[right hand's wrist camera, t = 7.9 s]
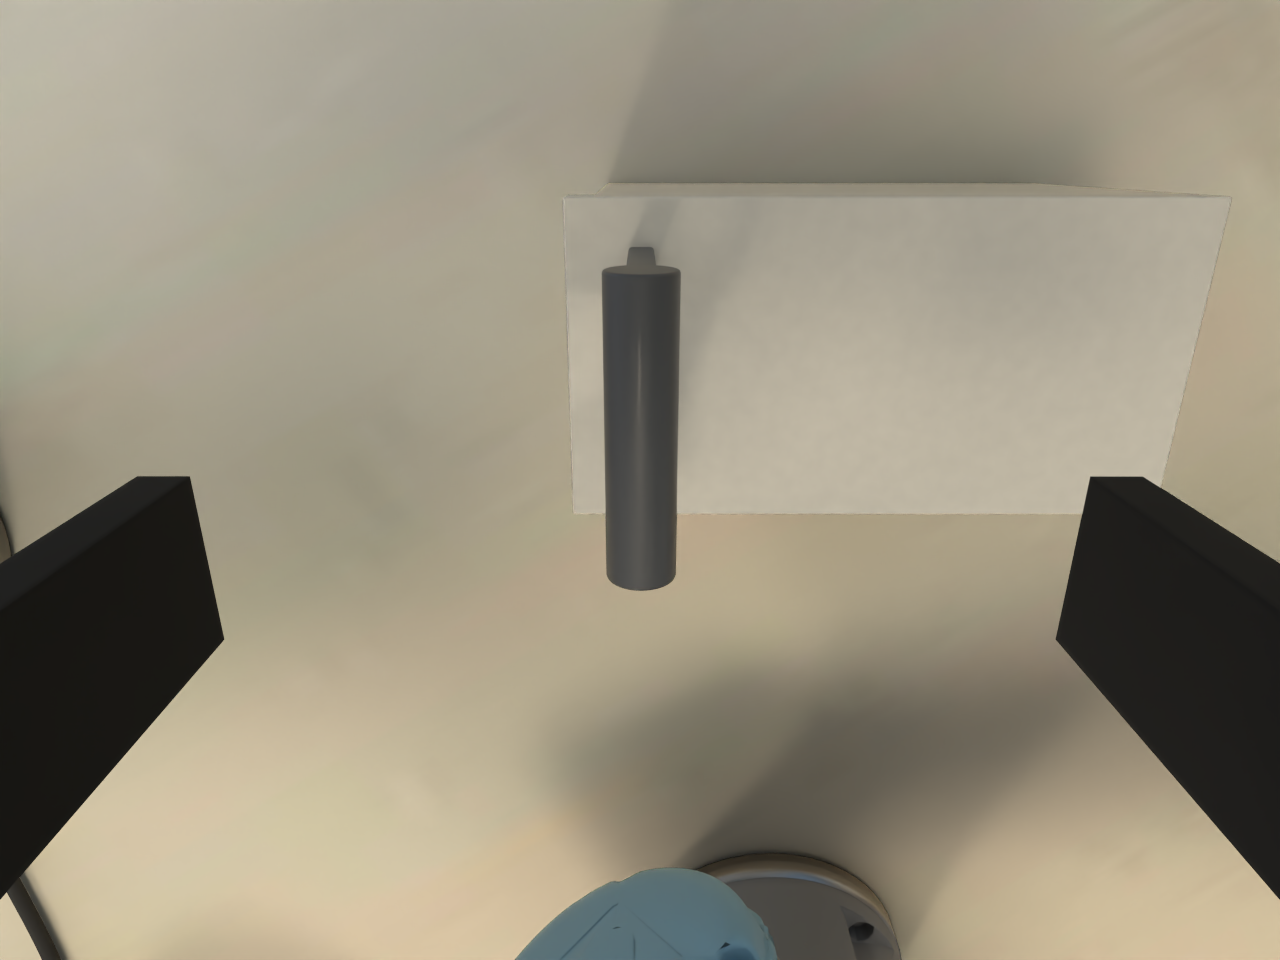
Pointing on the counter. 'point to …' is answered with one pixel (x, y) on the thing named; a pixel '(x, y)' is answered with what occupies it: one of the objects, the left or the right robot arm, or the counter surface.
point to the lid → (871, 353)
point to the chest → (862, 189)
